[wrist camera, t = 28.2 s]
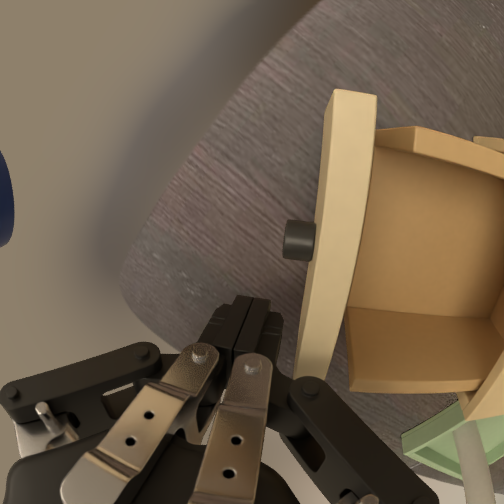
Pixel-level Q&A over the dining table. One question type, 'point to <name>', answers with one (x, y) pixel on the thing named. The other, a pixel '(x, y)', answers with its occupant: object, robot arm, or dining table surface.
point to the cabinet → (500, 378)
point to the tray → (451, 440)
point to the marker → (473, 465)
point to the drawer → (401, 255)
